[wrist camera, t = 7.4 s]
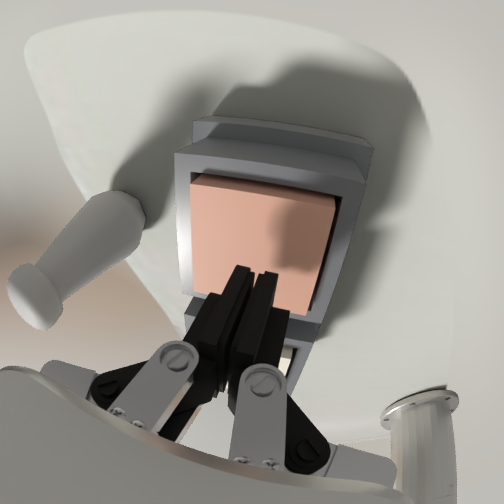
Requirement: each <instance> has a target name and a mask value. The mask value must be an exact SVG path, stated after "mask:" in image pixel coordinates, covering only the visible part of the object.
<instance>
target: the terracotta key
mask: <svg viewBox="0 0 504 504" xmlns="http://www.w3.org/2000/svg"><path fill="white" fill-rule="evenodd" d="M334 212H335V201H334V195H333V194H328V193H323V192H318V191H313V190H308V189H303V188H297V187H292V186H286V185H281V184H275V183H269V182H263V181H256V180H250V179H243V178H236V177H229V176H222V175H214V174H206V173H203V174H202V175H200V176H199V177H198V178H197V179H196V180H194V181H193V182H192V183H191V184H190V215H191V248H192V270H193V287H194V291H195V292H199V293H203V294H207V295H208V294H209V293H210V292H213V293H217V294H222V292H223V290H224V288H225V286H226V284H227V282H228V280H229V278H230V276H231V274H232V272H233V270H234V268H235V266H236V265H242V266H246V267H250V268H251V271H252V272H255V279H254V285H255V282H256V279H257V277H258V274H259V273H261V274H264V272H265V271H269V272H274V273H278V274H279V276H278V282H277V287H276V292H275V297H274V303H273V307H276V308H281V309H285V310H290V313H294V314H299V315H304V316H306V313H307V310H308V307H309V303H310V300H311V297H312V294H313V290H314V287H315V283H316V280H317V277H318V273H319V270H320V266H321V262H322V259H323V255H324V252H325V248H326V244H327V240H328V236H329V232H330V229H331V225H332V221H333V217H334Z"/></svg>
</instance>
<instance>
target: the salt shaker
mask: <svg viewBox="0 0 504 504" xmlns="http://www.w3.org/2000/svg"><path fill="white" fill-rule="evenodd" d="M145 221H146V217H145V215H144V212H143V210H142V207H141V205H140V202H139V200H138V199H137V198H135V197H133V196H131V195H129V194H127V193H125V192H123V191H106V192H103V193H100V194H98V195H95V196H93V197H92V198H91V199H90V200H89V201H88V202H87V203H86V204H85V205H84V206H83V207H82V208H81V210H80V211H79V212H78V213H77V214H76V215H75V216H74V217H73V219H72V220H71V221H70V222H69V223H68V224H67V225H66V227H65V228H64V229H63V230H62V231H61V233H60V234H59V235H58V236H57V238H56V239H55V240H54V241H53V243H52V244H51V245H50V247H49V248H48V249H47V250H46V252H45V253H44V254H43V255H42V257H41V258H40V259H39V260H38V262H37V263H36V264H35V265H32V264H30V263H26V264H23V265H20V266H19V267H18V268H16V269H15V270H14V271H13V272H12V274H11V275H10V276H9V278H8V281H7V293H8V295H9V298H10V300H11V302H12V304H13V306H14V307H15V309H16V311H17V312H18V313H19V315H20V316H21V317H22V318H23V319H24V320H25V321H26V322H27V323H29V324H30V325H31V326H33V327H34V328H36V329H38V330H48V329H50V328H51V327H52V326H53V325H54V324H55V323H56V321H57V320H58V318H59V317H60V316H61V314H62V312H63V305H62V302H63V301H64V300H66V299H67V298H69V297H70V296H71V295H73V294H74V293H75V292H77V291H78V290H79V289H80V288H82V287H84V286H85V285H87V284H88V283H89V282H91V281H92V280H94V279H95V278H97V277H98V276H100V275H101V274H102V273H104V272H105V271H107V270H108V269H109V268H111V267H112V266H114V265H116V264H117V263H119V262H120V261H121V260H123V259H125V258H126V257H128V256H129V255H130V254H131V253H132V252H133V251H134V250H135V249H136V248H137V247H138V245H139V244H140V240H141V236H142V231H143V228H144V224H145Z"/></svg>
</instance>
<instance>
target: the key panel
mask: <svg viewBox="0 0 504 504" xmlns="http://www.w3.org/2000/svg"><path fill="white" fill-rule="evenodd" d="M372 153H373V147H372V146H371V145H370V144H369V143H368V142H367V141H366V140H365V139H363V138H359V137H355V136H351V135H346V134H342V133H337V132H332V131H328V130H322V129H317V128H312V127H306V126H300V125H294V124H288V123H281V122H274V121H266V120H258V119H248V118H238V117H226V116H208V117H204V118H201V119H198V120H194V121H193V131H192V144H191V145H189V146H187V147H185V148H183V149H181V150H179V151H177V152H175V153H174V171H175V205H176V226H177V242H178V256H179V268H180V279H181V290H182V293H183V294H187V295H191V296H194V297H193V299H192V301H191V302H190V304H189V306H188V308H187V310H186V311H185V313H184V317H185V325H186V333H187V332H188V330H189V328H190V326H191V325H192V323H193V321H194V319H195V317H196V316H197V314H198V312H199V310H200V308H201V307H202V305H203V303H204V301H205V299H206V298H207V296H208V295H207V294H203V293H199V292H195V291H194V287H193V270H192V248H191V215H190V184H191V183H192V182H193V181H194V180H196V179H197V178H198V177H199V176H200V175H202V174H203V173H206V174H214V175H222V176H229V177H236V178H243V179H250V180H256V181H263V182H269V183H275V184H281V185H286V186H292V187H297V188H303V189H308V190H313V191H318V192H323V193H328V194H333V195H334V201H335V212H334V217H333V221H332V225H331V229H330V232H329V236H328V240H327V244H326V248H325V252H324V255H323V259H322V262H321V266H320V270H319V273H318V277H317V280H316V283H315V287H314V290H313V294H312V297H311V300H310V303H309V307H308V310H307V313H306V316H304V315H299V314H294V313H290V316H289V321H288V326H287V330H286V335H285V340H284V344H283V346H287V347H292V348H293V350H292V357H291V361H290V364H289V367H288V369H287V372H286V375H285V377H286V381H287V393H288V394H289V396H291V394H292V392H293V390H294V388H295V385H296V383H297V381H298V379H299V377H300V374H301V372H302V370H303V367H304V365H305V363H306V360H307V358H308V356H309V353H310V351H311V349H312V346H313V344H314V340H315V338H316V335H317V333H318V330H319V328H320V325H321V323H322V321H323V318H324V316H325V313H326V310H327V308H328V305H329V302H330V299H331V297H332V294H333V291H334V288H335V285H336V282H337V279H338V277H339V274H340V271H341V268H342V265H343V261H344V258H345V255H346V252H347V249H348V246H349V242H350V239H351V236H352V232H353V229H354V226H355V222H356V219H357V215H358V211H359V208H360V204H361V200H362V197H363V193H364V189H365V185H366V179H367V175H368V170H369V166H370V162H371V157H372Z"/></svg>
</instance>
